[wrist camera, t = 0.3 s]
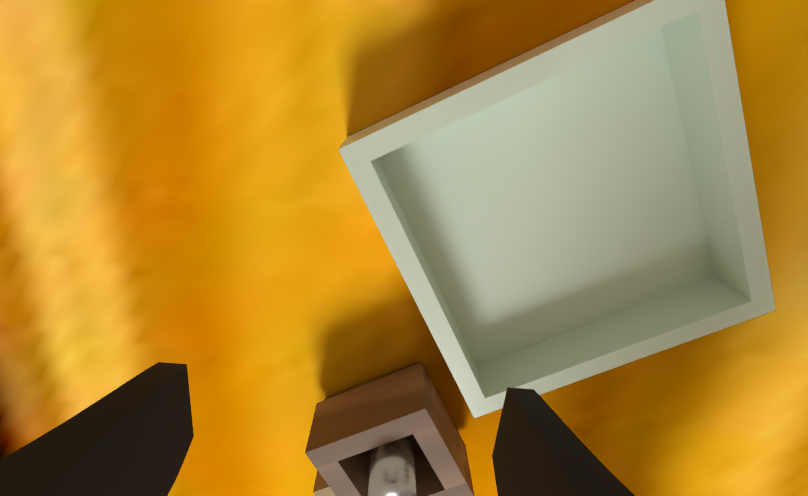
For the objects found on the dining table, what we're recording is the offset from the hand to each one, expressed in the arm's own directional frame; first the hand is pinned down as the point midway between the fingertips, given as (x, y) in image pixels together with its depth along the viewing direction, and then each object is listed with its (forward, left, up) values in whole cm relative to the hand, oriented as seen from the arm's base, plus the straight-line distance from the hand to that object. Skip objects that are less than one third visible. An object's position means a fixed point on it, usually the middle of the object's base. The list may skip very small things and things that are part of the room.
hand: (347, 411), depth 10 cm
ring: (-9, +3, -9) cm, 13 cm away
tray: (-2, -7, -10) cm, 12 cm away
